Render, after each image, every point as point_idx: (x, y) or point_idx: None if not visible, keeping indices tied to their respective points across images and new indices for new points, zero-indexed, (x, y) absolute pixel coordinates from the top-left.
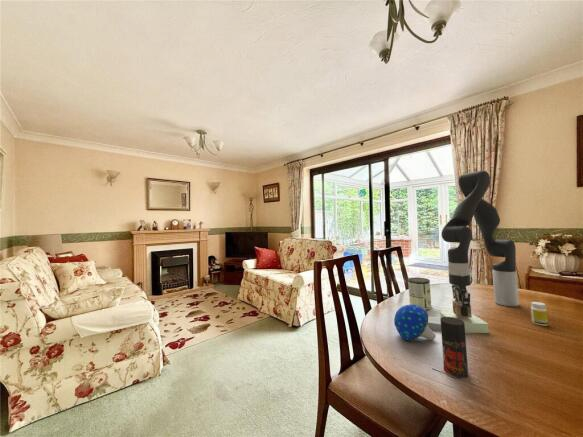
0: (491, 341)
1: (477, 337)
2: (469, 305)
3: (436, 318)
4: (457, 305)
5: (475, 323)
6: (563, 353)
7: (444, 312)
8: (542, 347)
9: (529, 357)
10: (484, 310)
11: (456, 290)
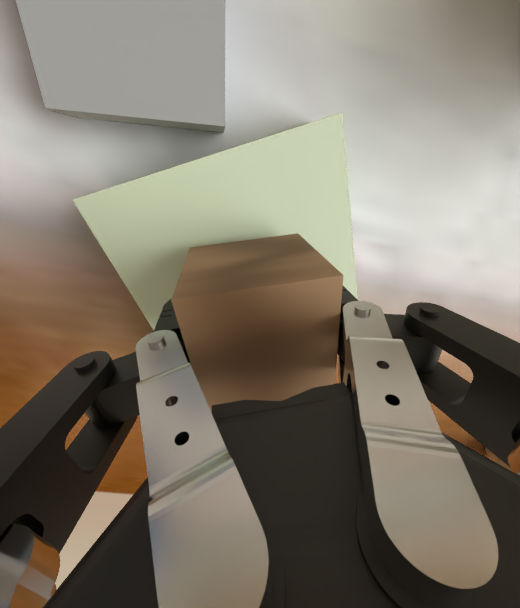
0: (83, 344)
1: (97, 298)
2: (91, 427)
3: (194, 37)
4: (175, 303)
5: None
6: (118, 478)
7: (334, 158)
8: (135, 454)
9: (3, 421)
10: (464, 374)
11: (163, 606)
